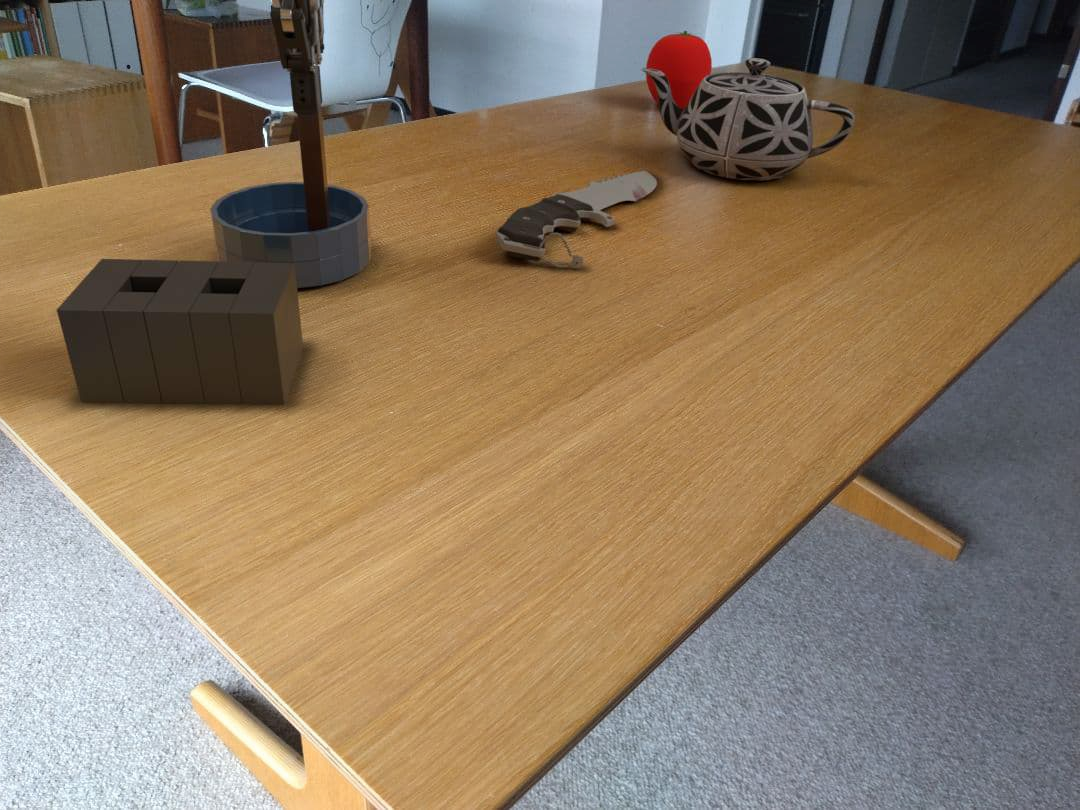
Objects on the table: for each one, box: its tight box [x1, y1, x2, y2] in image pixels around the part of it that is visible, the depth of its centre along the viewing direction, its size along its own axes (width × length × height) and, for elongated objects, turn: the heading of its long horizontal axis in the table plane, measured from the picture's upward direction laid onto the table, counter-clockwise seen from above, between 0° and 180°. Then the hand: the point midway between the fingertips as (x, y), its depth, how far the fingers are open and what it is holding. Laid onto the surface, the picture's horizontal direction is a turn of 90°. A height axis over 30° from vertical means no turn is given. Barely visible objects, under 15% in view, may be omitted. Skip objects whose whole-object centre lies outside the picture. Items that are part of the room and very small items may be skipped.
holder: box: [56, 258, 304, 406], centre depth 69 cm, size 15×9×8 cm, turn 94°
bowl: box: [209, 181, 372, 289], centre depth 89 cm, size 15×15×6 cm
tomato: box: [645, 30, 713, 110], centre depth 152 cm, size 11×11×13 cm
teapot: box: [640, 57, 856, 182], centre depth 124 cm, size 19×31×15 cm, turn 68°
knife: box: [494, 170, 658, 270], centre depth 106 cm, size 36×10×4 cm, turn 159°
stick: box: [294, 52, 331, 232], centre depth 85 cm, size 2×2×18 cm
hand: (308, 109), depth 83 cm, fingers closed on stick, 2 cm apart
